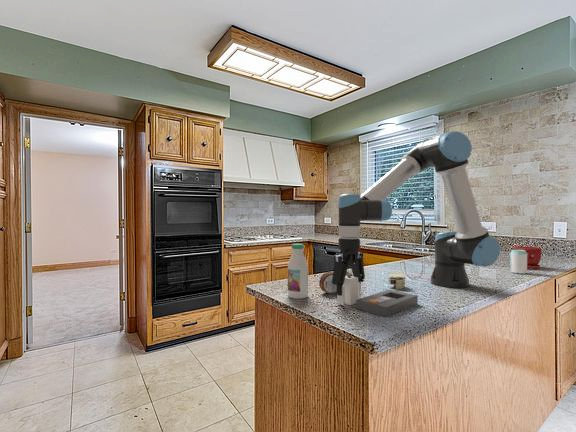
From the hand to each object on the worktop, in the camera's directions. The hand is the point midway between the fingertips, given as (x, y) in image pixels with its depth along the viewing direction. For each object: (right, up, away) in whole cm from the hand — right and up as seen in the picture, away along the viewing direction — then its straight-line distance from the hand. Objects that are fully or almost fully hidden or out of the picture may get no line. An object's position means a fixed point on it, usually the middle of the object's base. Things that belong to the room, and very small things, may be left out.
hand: (349, 301), depth 111 cm
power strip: (+12, 0, -5) cm, 13 cm away
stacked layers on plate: (+25, 0, +22) cm, 33 cm away
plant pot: (+114, +1, +67) cm, 132 cm away
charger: (0, 0, 0) cm, 0 cm away
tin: (-2, 0, +14) cm, 14 cm away
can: (+98, +1, +52) cm, 111 cm away
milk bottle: (-18, 0, +8) cm, 20 cm away
